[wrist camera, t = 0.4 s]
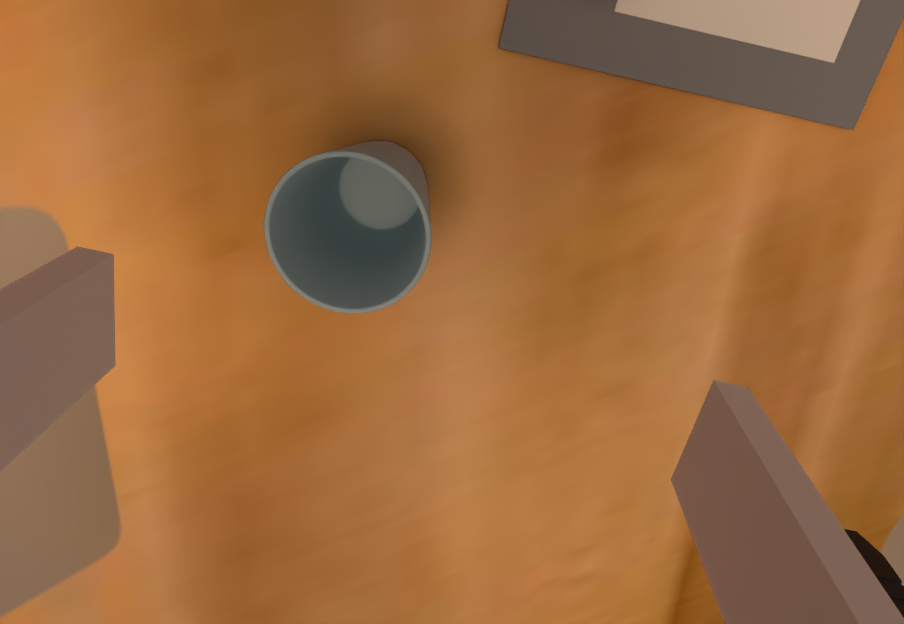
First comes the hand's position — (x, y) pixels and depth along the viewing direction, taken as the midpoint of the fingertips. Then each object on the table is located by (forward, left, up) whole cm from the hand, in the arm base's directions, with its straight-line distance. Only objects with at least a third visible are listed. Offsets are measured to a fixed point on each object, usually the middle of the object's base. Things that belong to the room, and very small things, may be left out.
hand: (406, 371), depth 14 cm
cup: (+3, -4, -27) cm, 27 cm away
